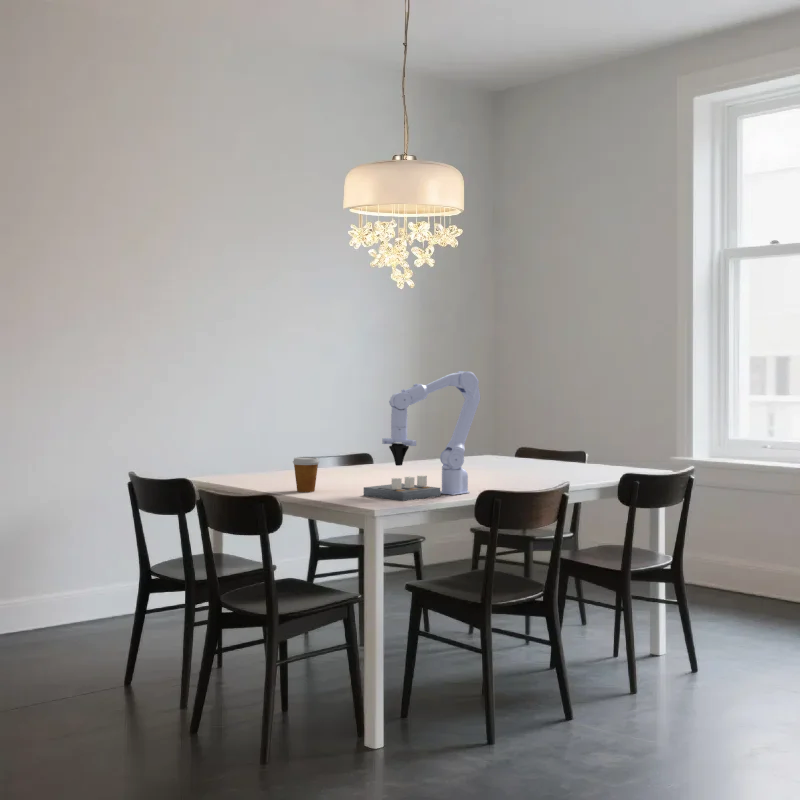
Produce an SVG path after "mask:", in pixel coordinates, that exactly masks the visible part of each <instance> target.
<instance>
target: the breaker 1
mask: <svg viewBox="0 0 800 800" xmlns="http://www.w3.org/2000/svg"><path fill="white" fill-rule="evenodd" d="M402 479H403V478H400V477H393V478H391V484H392V489H401V483H402Z"/></svg>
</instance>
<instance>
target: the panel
mask: <svg viewBox="0 0 800 800" xmlns="http://www.w3.org/2000/svg"><path fill="white" fill-rule="evenodd" d="M440 491H441V487H437V486H436V487H435V486H428V485H427V486H417V484H414V487H411V488H408V487H405V483H402V482H401V489H392V483H391V484H381V485H374V486H365V487H363V496H364V497H371V498H379V499H380V498H381V499H386V500H394V501H395V500H396V501H402V502H405V501H412V500H420V499H428V498H436V497H437V498H438V497H441V493H440Z"/></svg>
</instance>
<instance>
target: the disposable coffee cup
mask: <svg viewBox="0 0 800 800" xmlns="http://www.w3.org/2000/svg"><path fill="white" fill-rule="evenodd" d="M292 463H293V467H294V475H295V476H294V477H295V483H296V491H297V492H299V493H314V492H315V491H316V482H317V476H318V475H317V474H318V465H319V463H320V461H319V458H318V457H313V456H312V457H310V456H298V457H294V458H293V461H292Z"/></svg>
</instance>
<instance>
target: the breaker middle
mask: <svg viewBox="0 0 800 800" xmlns="http://www.w3.org/2000/svg"><path fill="white" fill-rule="evenodd" d="M404 484H405V487H408V488H411V487H414V485H415V476H404Z"/></svg>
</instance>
